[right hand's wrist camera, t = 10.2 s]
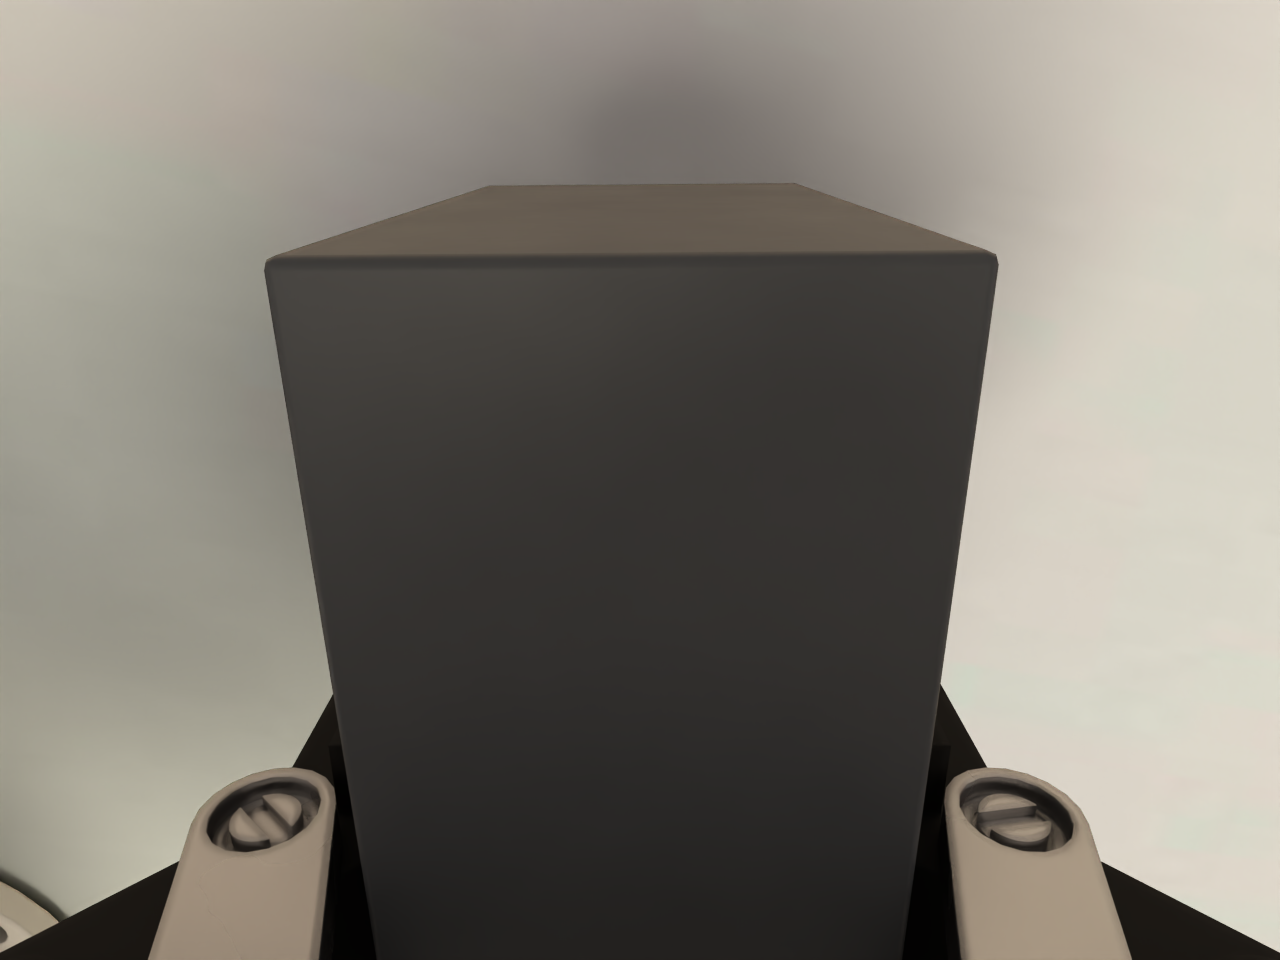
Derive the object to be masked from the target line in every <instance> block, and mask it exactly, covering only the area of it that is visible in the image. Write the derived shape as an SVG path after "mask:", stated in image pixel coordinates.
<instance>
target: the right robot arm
mask: <svg viewBox="0 0 1280 960" xmlns="http://www.w3.org/2000/svg"><path fill="white" fill-rule="evenodd" d="M0 960H377V959H376V952H375V946H374V940H373V934H372V928H371V922H370V916H369V910H368V903H367V897H366V891H365V885H364V879H363V873H362V867H361V861H360V854H359V848H358V842H357V836H356V830H355V824H354V818H353V812H352V805H351V799H350V793H349V787H348V781H347V775H346V769H345V763H344V756H343V750H342V744H341V738H340V732H339V726H338V720H337V713H336V707H335V701H334V695H332V697H331V699H330V701H329V703H328V704H327V706H326V708H325V710H324V711H323V713H322V715H321V717H320V719H319V720H318V722H317V724H316V726H315V728H314V729H313V731H312V733H311V735H310V737H309V738H308V740H307V742H306V744H305V746H304V747H303V749H302V751H301V753H300V754H299V756H298V758H297V760H296V762H295V763H294V765H293V767H292V768H277V769H271V770H267V771H262V772H258V773H254V774H251V775H249V776H246V777H244V778H242V779H239V780H237V781H235V782H232V783H231V784H229V785H228V786H226V787H225V788H223V789H222V790H220V791H218V792H217V793H215V794H214V795H213V796H212V797H211V798H210V799H209V800H208V801H207V802H206V803H205V804H204V805H203V806H202V807H201V808H200V809H199V811H198V812H197V814H196V816H195V818H194V820H193V822H192V824H191V826H190V829H189V833H188V836H187V839H186V842H185V845H184V848H183V851H182V855H181V858H180V861H178V862H176V863H174V864H172V865H170V866H169V867H167V868H165V869H163V870H161V871H159V872H157V873H155V874H153V875H151V876H149V877H147V878H145V879H143V880H141V881H139V882H137V883H135V884H133V885H131V886H129V887H127V888H125V889H124V890H122V891H120V892H118V893H116V894H114V895H112V896H110V897H108V898H106V899H104V900H102V901H100V902H98V903H96V904H94V905H92V906H90V907H88V908H86V909H84V910H82V911H81V912H79V913H77V914H75V915H73V916H71V917H69V918H67V919H65V920H63V921H61V922H58V921H57V920H56V919H55V918H54V917H53V916H52V915H51V914H50V913H49V912H47V911H46V910H45V909H43V908H42V907H40V906H39V905H38V904H36V903H35V902H33V901H32V900H31V899H29V898H28V897H26V896H25V895H24V894H22V893H21V892H19V891H18V890H16V889H14V888H12V887H10V886H8V885H6V884H4V883H3V882H1V881H0ZM902 960H1280V953H1279V952H1277V951H1275V950H1273V949H1271V948H1269V947H1267V946H1265V945H1264V944H1262V943H1260V942H1258V941H1256V940H1254V939H1252V938H1250V937H1248V936H1246V935H1244V934H1242V933H1240V932H1238V931H1236V930H1234V929H1232V928H1230V927H1228V926H1226V925H1224V924H1222V923H1220V922H1219V921H1217V920H1215V919H1213V918H1211V917H1209V916H1207V915H1205V914H1203V913H1201V912H1199V911H1197V910H1195V909H1193V908H1191V907H1189V906H1187V905H1185V904H1183V903H1181V902H1179V901H1177V900H1175V899H1174V898H1172V897H1170V896H1168V895H1166V894H1164V893H1162V892H1160V891H1158V890H1156V889H1154V888H1152V887H1150V886H1148V885H1146V884H1144V883H1142V882H1140V881H1138V880H1136V879H1134V878H1132V877H1130V876H1129V875H1127V874H1125V873H1123V872H1121V871H1119V870H1117V869H1115V868H1113V867H1111V866H1109V865H1107V864H1105V863H1103V862H1101V861H1100V858H1099V855H1098V851H1097V848H1096V845H1095V842H1094V839H1093V836H1092V833H1091V829H1090V826H1089V824H1088V822H1087V820H1086V818H1085V816H1084V814H1083V812H1082V811H1081V809H1080V808H1079V807H1078V806H1077V805H1076V804H1075V803H1074V802H1073V801H1072V800H1071V799H1070V798H1069V797H1068V796H1067V795H1066V794H1065V793H1063V792H1062V791H1060V790H1058V789H1057V788H1055V787H1054V786H1052V785H1051V784H1049V783H1048V782H1045V781H1043V780H1041V779H1038V778H1036V777H1034V776H1031V775H1029V774H1026V773H1022V772H1018V771H1013V770H1009V769H1003V768H987V766H986V765H985V763H984V761H983V759H982V757H981V756H980V754H979V752H978V750H977V748H976V747H975V745H974V743H973V741H972V740H971V738H970V736H969V734H968V732H967V731H966V729H965V727H964V725H963V723H962V722H961V720H960V718H959V716H958V714H957V713H956V711H955V709H954V707H953V705H952V704H951V702H950V700H949V698H948V697H947V695H946V693H945V691H944V689H943V688H942V686H941V684H940V690H939V697H938V704H937V712H936V719H935V726H934V733H933V740H932V748H931V755H930V762H929V769H928V776H927V784H926V791H925V798H924V805H923V812H922V820H921V827H920V834H919V841H918V848H917V856H916V863H915V870H914V877H913V884H912V892H911V899H910V906H909V913H908V920H907V928H906V935H905V942H904V949H903V956H902Z"/></svg>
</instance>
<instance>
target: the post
mask: <svg viewBox="0 0 1280 960" xmlns="http://www.w3.org/2000/svg"><path fill="white" fill-rule="evenodd" d="M998 265H999V264H998V260H997V257H996V254H994V253H992V252H989V251H987V250H984V249H982V248H979V247H976V246H973V245H970V244H967V243H964V242H962V241H959V240H956V239H953V238H950V237H947V236H944V235H941V234H939V233H936V232H933V231H930V230H927V229H924V228H921V227H919V226H916V225H913V224H910V223H907V222H904V221H901V220H898V219H896V218H893V217H890V216H887V215H884V214H881V213H878V212H876V211H873V210H870V209H867V208H864V207H861V206H858V205H856V204H853V203H850V202H847V201H844V200H841V199H838V198H835V197H833V196H830V195H827V194H824V193H821V192H818V191H815V190H813V189H810V188H807V187H804V186H801V185H798V184H795V183H761V184H642V185H524V186H487V187H484V188H481V189H478V190H475V191H472V192H469V193H465V194H462V195H459V196H456V197H453V198H450V199H447V200H444V201H441V202H438V203H435V204H432V205H429V206H426V207H423V208H420V209H416V210H413V211H410V212H407V213H404V214H401V215H398V216H395V217H392V218H389V219H386V220H383V221H380V222H377V223H374V224H371V225H367V226H364V227H361V228H358V229H355V230H352V231H349V232H346V233H343V234H340V235H337V236H334V237H331V238H328V239H325V240H322V241H318V242H315V243H312V244H309V245H306V246H303V247H300V248H297V249H294V250H291V251H288V252H285V253H282V254H279V255H276V256H274V257H271V258H269V259H267V260H266V263H265V269H264V272H265V279H266V285H267V291H268V297H269V303H270V309H271V315H272V321H273V328H274V334H275V340H276V346H277V352H278V358H279V364H280V370H281V377H282V383H283V389H284V395H285V401H286V407H287V413H288V419H289V426H290V432H291V438H292V444H293V450H294V456H295V462H296V468H297V475H298V481H299V487H300V493H301V499H302V505H303V511H304V517H305V524H306V530H307V536H308V542H309V548H310V554H311V560H312V566H313V573H314V579H315V585H316V591H317V597H318V603H319V609H320V615H321V622H322V628H323V634H324V640H325V646H326V652H327V658H328V664H329V671H330V677H331V683H332V689H333V695H334V701H335V707H336V713H337V720H338V726H339V732H340V738H341V744H342V750H343V756H344V763H345V769H346V775H347V781H348V787H349V793H350V799H351V805H352V812H353V818H354V824H355V830H356V836H357V842H358V848H359V854H360V861H361V867H362V873H363V879H364V885H365V891H366V897H367V903H368V910H369V916H370V922H371V928H372V934H373V940H374V946H375V952H376V959H377V960H902V956H903V949H904V942H905V935H906V928H907V920H908V913H909V906H910V899H911V892H912V884H913V877H914V870H915V863H916V856H917V848H918V841H919V834H920V827H921V820H922V812H923V805H924V798H925V791H926V784H927V776H928V769H929V762H930V755H931V748H932V740H933V733H934V726H935V719H936V712H937V704H938V697H939V690H940V683H941V676H942V668H943V661H944V654H945V647H946V640H947V632H948V625H949V618H950V611H951V604H952V597H953V589H954V582H955V575H956V568H957V561H958V553H959V546H960V539H961V532H962V525H963V517H964V510H965V503H966V496H967V489H968V481H969V474H970V467H971V460H972V453H973V445H974V438H975V431H976V424H977V417H978V409H979V402H980V395H981V388H982V381H983V373H984V366H985V359H986V352H987V345H988V337H989V330H990V323H991V316H992V309H993V301H994V294H995V287H996V280H997V273H998Z"/></svg>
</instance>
